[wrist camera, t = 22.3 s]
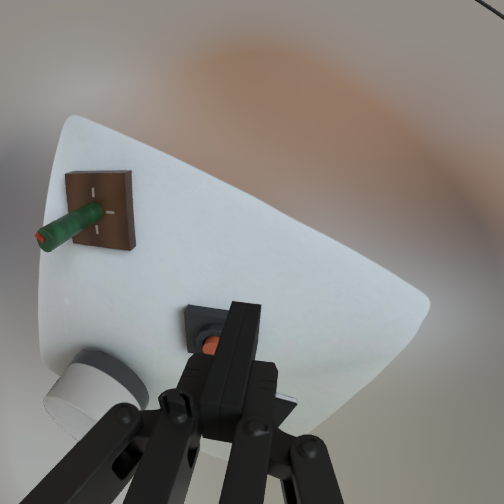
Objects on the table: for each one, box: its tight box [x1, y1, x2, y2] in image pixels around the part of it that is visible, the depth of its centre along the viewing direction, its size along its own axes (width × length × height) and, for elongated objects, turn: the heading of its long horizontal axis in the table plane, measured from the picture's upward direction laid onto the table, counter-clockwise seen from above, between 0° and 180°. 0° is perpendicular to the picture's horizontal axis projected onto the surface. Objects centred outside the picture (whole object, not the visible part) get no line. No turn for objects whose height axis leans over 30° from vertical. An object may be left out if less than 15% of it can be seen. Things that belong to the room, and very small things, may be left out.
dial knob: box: [35, 201, 103, 252], centre depth 36 cm, size 3×3×12 cm
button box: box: [184, 305, 229, 354], centre depth 48 cm, size 11×9×4 cm
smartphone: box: [274, 394, 298, 427], centre depth 57 cm, size 8×1×15 cm
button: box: [203, 336, 220, 355], centre depth 46 cm, size 4×4×2 cm
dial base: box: [65, 170, 136, 251], centre depth 42 cm, size 12×12×2 cm
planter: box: [43, 350, 149, 441], centre depth 52 cm, size 19×19×18 cm
